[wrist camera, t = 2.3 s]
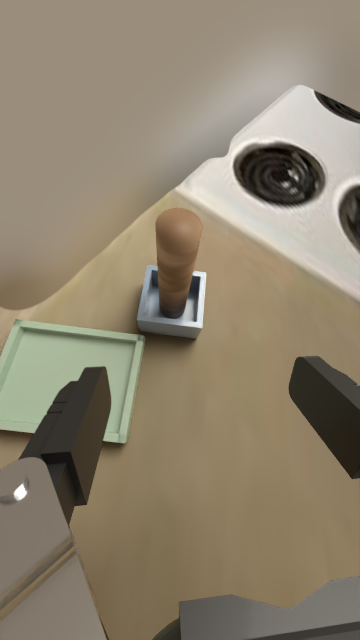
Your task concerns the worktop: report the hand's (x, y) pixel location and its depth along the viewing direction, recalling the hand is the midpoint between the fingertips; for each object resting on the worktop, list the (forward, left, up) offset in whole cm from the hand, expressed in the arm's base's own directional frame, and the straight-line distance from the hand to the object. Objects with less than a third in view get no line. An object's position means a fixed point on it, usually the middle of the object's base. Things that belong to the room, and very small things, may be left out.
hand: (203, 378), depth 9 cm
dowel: (-2, +12, -18) cm, 22 cm away
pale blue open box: (-2, +12, -19) cm, 23 cm away
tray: (-13, +1, -19) cm, 23 cm away
